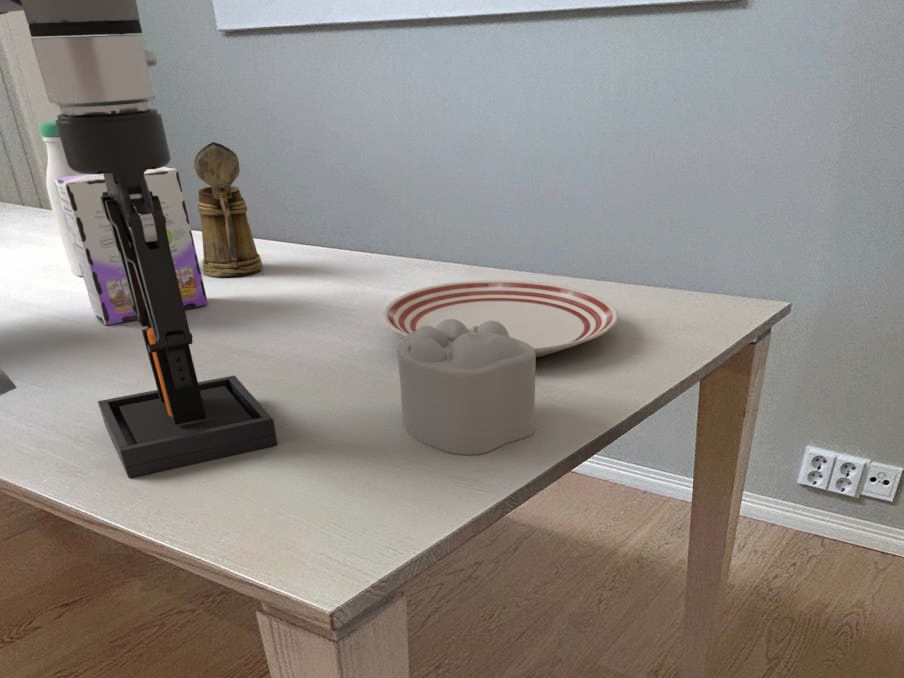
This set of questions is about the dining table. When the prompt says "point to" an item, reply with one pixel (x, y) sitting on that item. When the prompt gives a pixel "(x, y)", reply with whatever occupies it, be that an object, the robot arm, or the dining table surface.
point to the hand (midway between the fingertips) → (182, 408)
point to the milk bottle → (56, 170)
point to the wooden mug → (224, 216)
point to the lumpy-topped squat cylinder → (466, 386)
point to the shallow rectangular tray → (191, 444)
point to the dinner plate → (508, 311)
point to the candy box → (102, 253)
